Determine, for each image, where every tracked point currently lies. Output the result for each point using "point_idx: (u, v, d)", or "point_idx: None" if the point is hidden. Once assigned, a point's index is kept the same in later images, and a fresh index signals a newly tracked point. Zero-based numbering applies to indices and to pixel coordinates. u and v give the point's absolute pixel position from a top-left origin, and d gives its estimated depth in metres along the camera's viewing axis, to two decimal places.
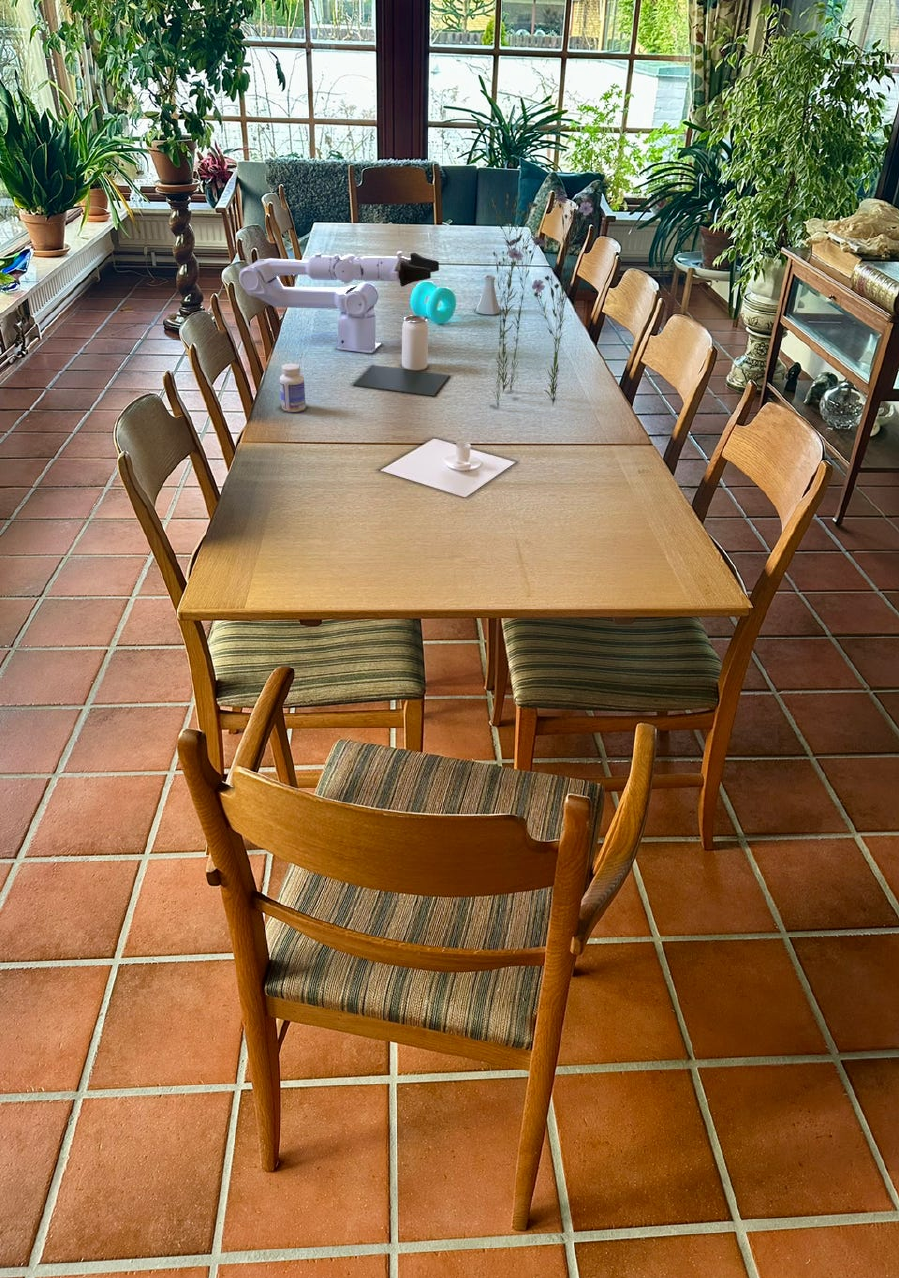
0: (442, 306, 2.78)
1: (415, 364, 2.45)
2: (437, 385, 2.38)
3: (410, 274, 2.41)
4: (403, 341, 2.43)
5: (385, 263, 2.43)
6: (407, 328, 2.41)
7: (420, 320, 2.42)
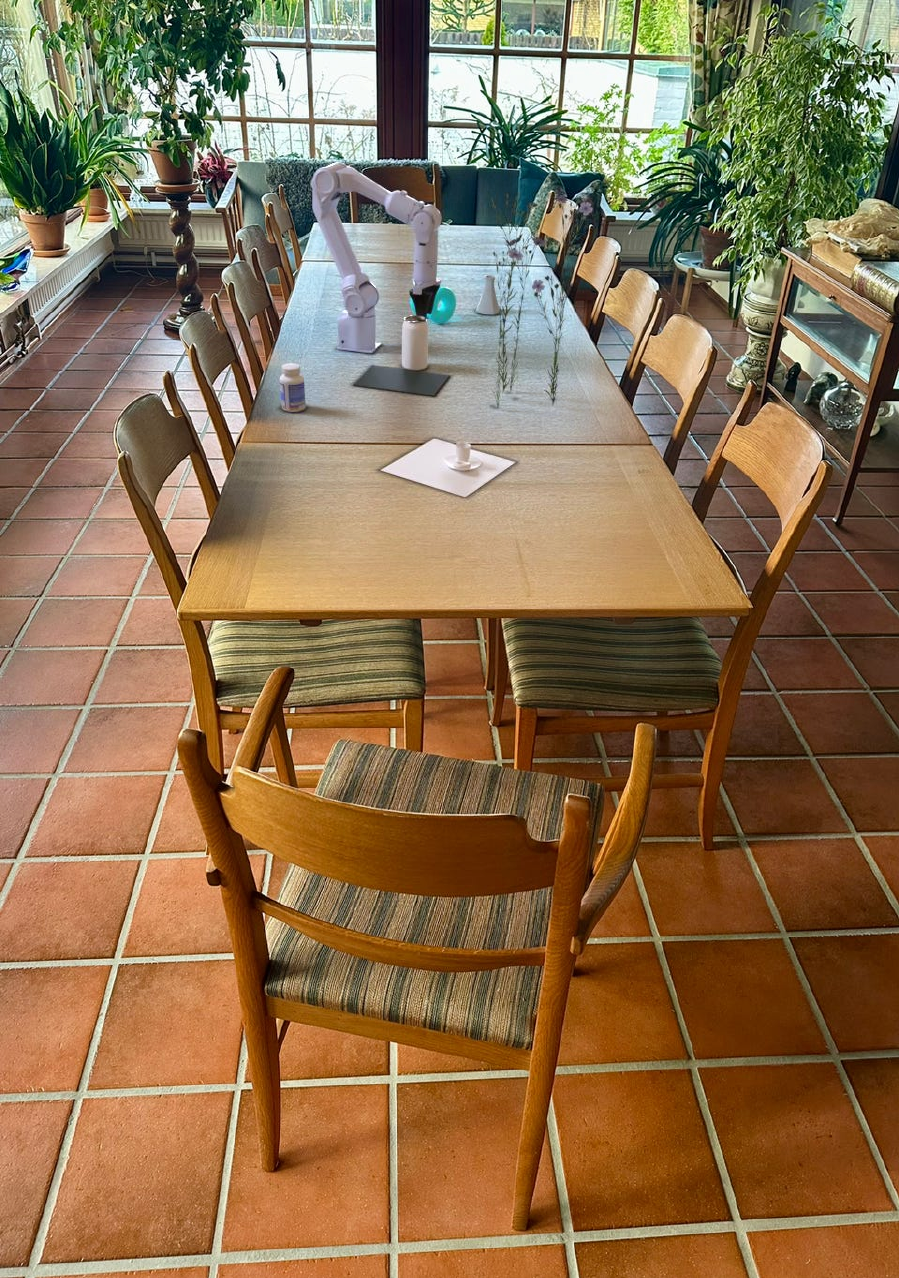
0: (442, 306, 2.78)
1: (415, 364, 2.45)
2: (437, 385, 2.38)
3: (420, 299, 2.44)
4: (403, 341, 2.43)
5: (430, 270, 2.40)
6: (407, 328, 2.41)
7: (420, 320, 2.42)
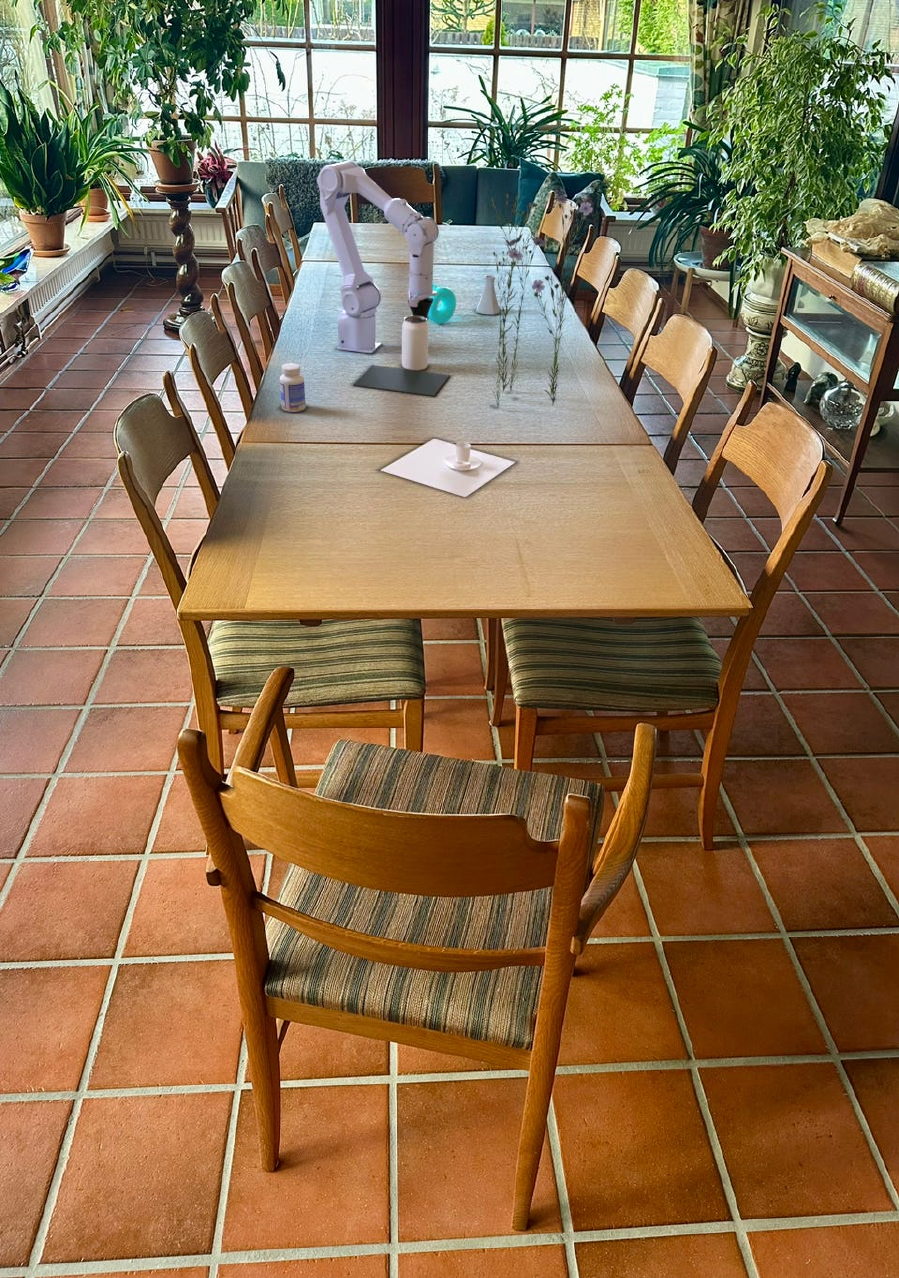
0: (442, 306, 2.78)
1: (415, 364, 2.45)
2: (437, 385, 2.38)
3: (419, 309, 2.44)
4: (403, 341, 2.43)
5: (425, 282, 2.38)
6: (407, 328, 2.40)
7: (420, 320, 2.42)
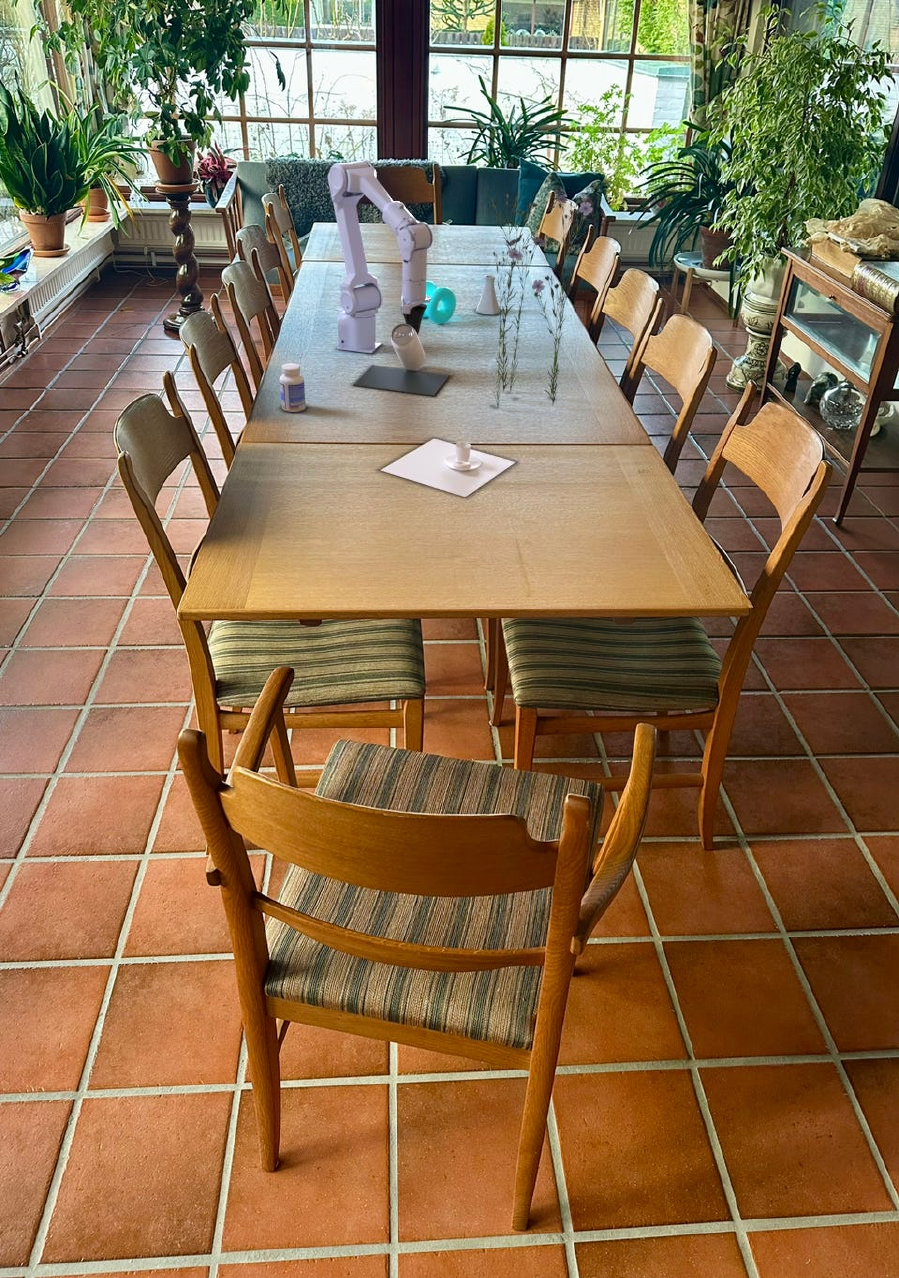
0: (442, 306, 2.78)
1: (413, 367, 2.44)
2: (437, 385, 2.38)
3: (412, 315, 2.39)
4: (396, 352, 2.40)
5: (419, 289, 2.33)
6: (396, 347, 2.36)
7: (407, 334, 2.35)
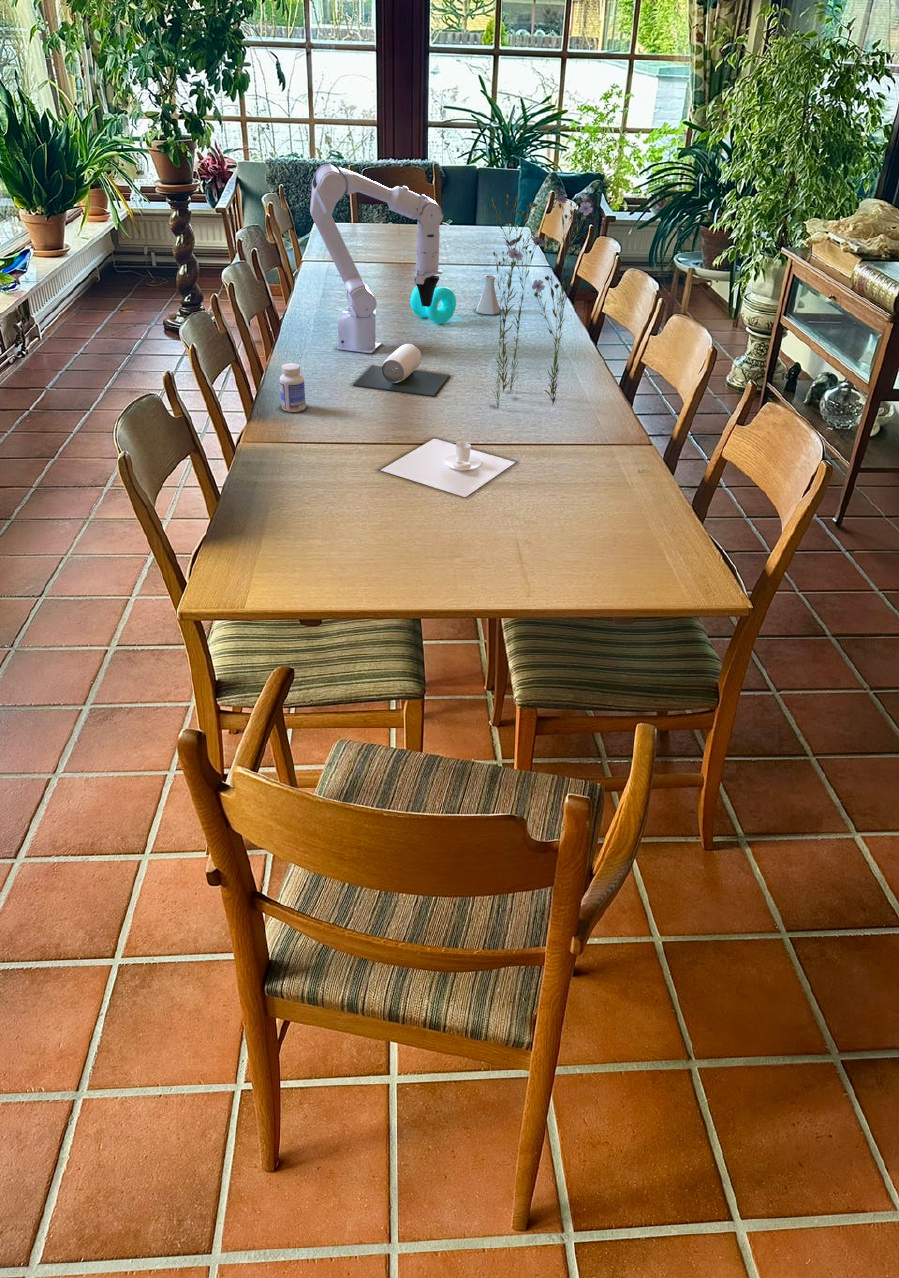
0: (442, 306, 2.78)
1: None
2: (437, 385, 2.38)
3: (425, 286, 2.53)
4: None
5: (432, 261, 2.48)
6: None
7: (397, 369, 2.35)
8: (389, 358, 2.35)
